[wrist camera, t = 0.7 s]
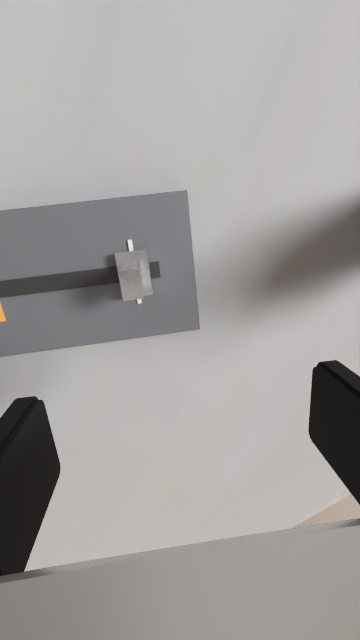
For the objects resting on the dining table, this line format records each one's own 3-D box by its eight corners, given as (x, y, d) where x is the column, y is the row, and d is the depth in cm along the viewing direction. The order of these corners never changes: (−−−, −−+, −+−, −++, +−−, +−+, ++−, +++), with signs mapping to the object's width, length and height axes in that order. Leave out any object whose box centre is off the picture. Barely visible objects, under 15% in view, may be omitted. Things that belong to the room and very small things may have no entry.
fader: (115, 252, 28) (107, 260, 22) (146, 248, 28) (145, 255, 23) (123, 296, 29) (117, 313, 24) (152, 292, 30) (153, 309, 24)
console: (-87, 222, 28) (-124, 222, 24) (184, 192, 29) (189, 187, 25) (-35, 354, 32) (-60, 372, 28) (196, 323, 34) (203, 335, 30)
